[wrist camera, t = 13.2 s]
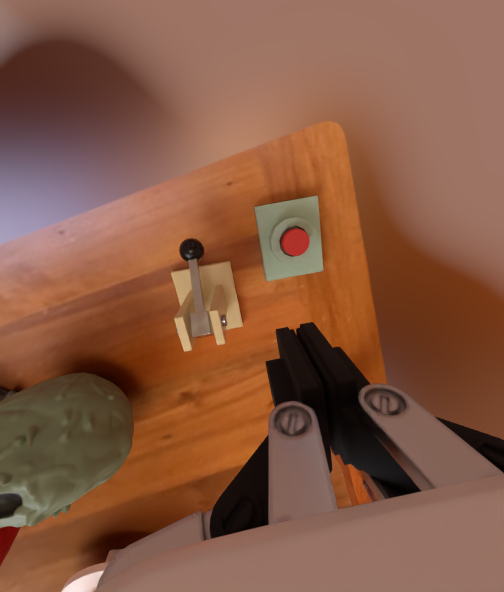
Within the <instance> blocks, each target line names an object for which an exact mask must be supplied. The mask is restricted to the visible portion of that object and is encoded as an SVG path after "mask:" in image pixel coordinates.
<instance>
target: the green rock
mask: <svg viewBox="0 0 504 592" xmlns="http://www.w3.org/2000/svg"><path fill="white" fill-rule="evenodd" d="M133 431H134V422H133V412H132V407H131V404H130V402H129V400H128V398H127V396H126V395H125V394H124V393H123V391H122V390H121V389H120V388H119V387H118V386H116V385H115V384H114V383H112V382H110V381H109V380H107V379H104V378H102V377H99V376H97V375H95V374H89V373H86V372H82V373H73V374H68V375H62V376H59V377H56V378H53V379H49V380H46V381H44V382H41V383H38V384H36V385H33V386H31V387H29V388H26V389H24V390H22V391H20V392H18V393H16V394H14V395H12V396H10V397H8V398H6V399H4V400H2V401H1V402H0V528H2V527H5V526H14V527H21V526H24V525H26V524H27V525H28V526H34V525H36V524H37V523H39V522H41V521H43V520H44V519H46V518H48V517H49V516H50V515H51V514H53V517H56V516H57V515H58V514H59V513H60V511H62V512H63V513H67V512H68V510H69V508H70V506H71V503H72V502H74V501H76V500H77V499H79V498H80V497H82V496H83V495H84V494H85V493H87V492H89V491H90V490H92V489H94V488H95V487H97V486H99V485H100V484H102V483H104V482H106V481H107V480H109V479H110V478H111V477H112V476H113V475H114V474H115V473H116V472H117V471H118V470H119V469H120V467H121V466H122V465H123V463H124V461H125V460H126V458H127V456H128V454H129V452H130V450H131V446H132V437H133Z"/></svg>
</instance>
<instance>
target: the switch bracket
mask: <svg viewBox="0 0 504 592" xmlns="http://www.w3.org/2000/svg"><path fill="white" fill-rule="evenodd" d="M199 270H200V277H201V284H202V291H203V298H204V305H205V311H208V312H209V314H210V318H211V322H212V326H213V330H214V334H215V338H216V342H217V345H221V344H225V343H226V330H227V329H232V328H237V327H242V326H243V323H242V318H241V313H240V308H239V303H238V298H237V293H236V288H235V283H234V278H233V273H232V268H231V264H230V260H229V261H223V262H218V263H213V264H207V265H202V266H199ZM171 275H172V278H173V282H174V285H175V289H176V292H177V296H178V299H179V303H180V306H181V307H180V309H179V310H178V312H177V314H176V316H175V317H174V320H175V323H176V330H177V333H178V335H179V337H180V340H181V343H182V346H183V350H184V351H190V350H192V349H193V345H194V342H195V339H196V338H195V337H192V330H191V323H190V315H189V314H191V313H195V307H194V300H193V292H192V285H191V277H190V270H189V268H186V269H180V270H175V271H172V272H171Z"/></svg>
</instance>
